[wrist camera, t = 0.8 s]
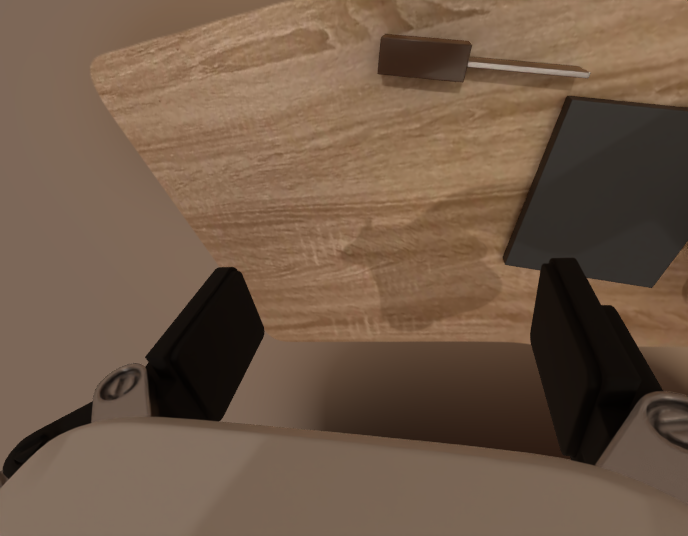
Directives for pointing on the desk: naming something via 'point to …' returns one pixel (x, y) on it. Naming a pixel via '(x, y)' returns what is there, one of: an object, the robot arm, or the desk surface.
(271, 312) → the desk surface
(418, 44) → the knife
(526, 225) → the board
